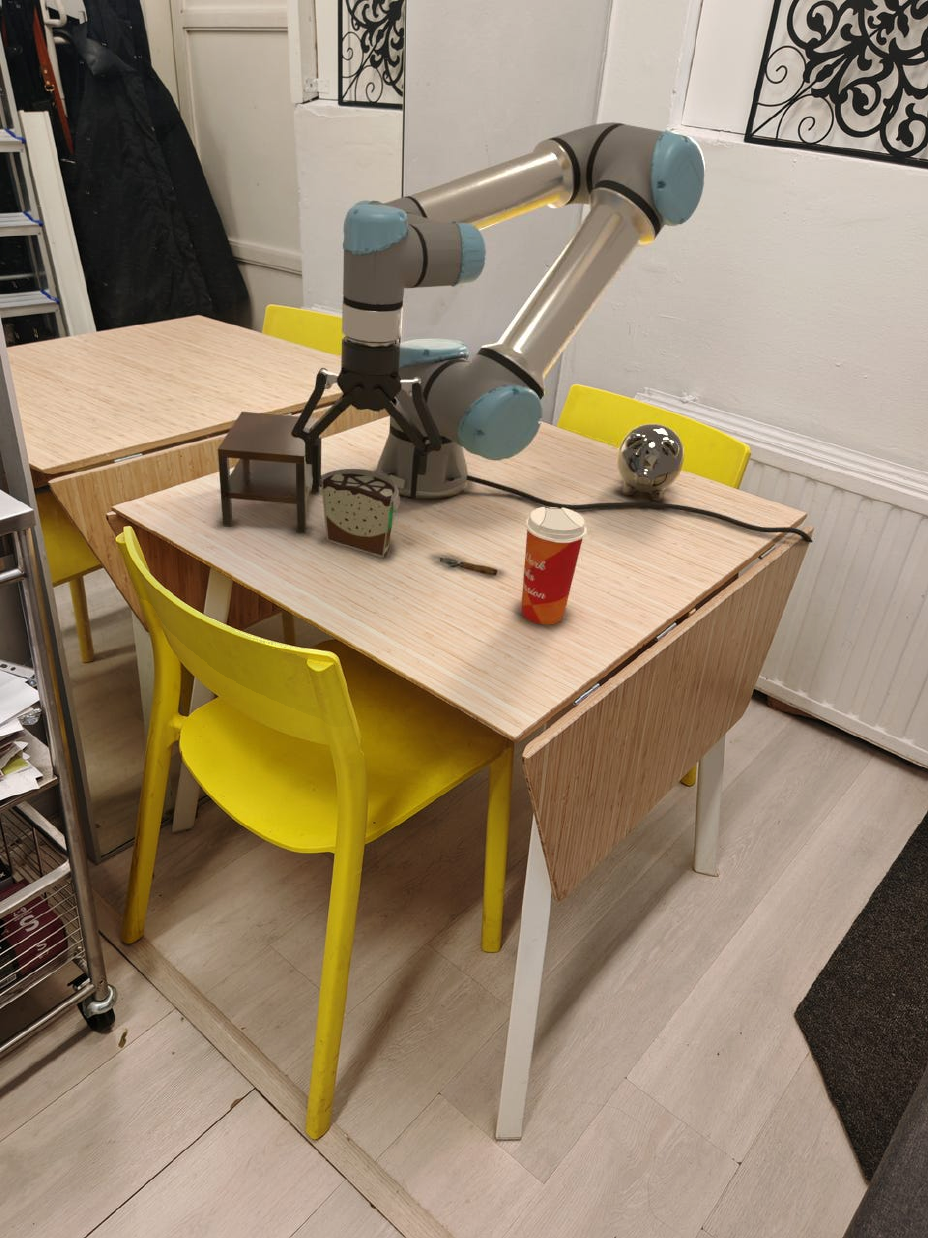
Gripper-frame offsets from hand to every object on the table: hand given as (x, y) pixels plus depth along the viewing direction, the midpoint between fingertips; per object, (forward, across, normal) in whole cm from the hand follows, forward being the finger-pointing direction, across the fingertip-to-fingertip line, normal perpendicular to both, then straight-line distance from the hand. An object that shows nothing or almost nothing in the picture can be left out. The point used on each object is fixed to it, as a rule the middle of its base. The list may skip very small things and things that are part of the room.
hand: (365, 490), depth 126 cm
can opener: (+9, -15, +5) cm, 18 cm away
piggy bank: (+8, -45, -26) cm, 53 cm away
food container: (+8, 0, 0) cm, 8 cm away
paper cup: (+8, -25, +16) cm, 31 cm away
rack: (+8, +15, -9) cm, 19 cm away
